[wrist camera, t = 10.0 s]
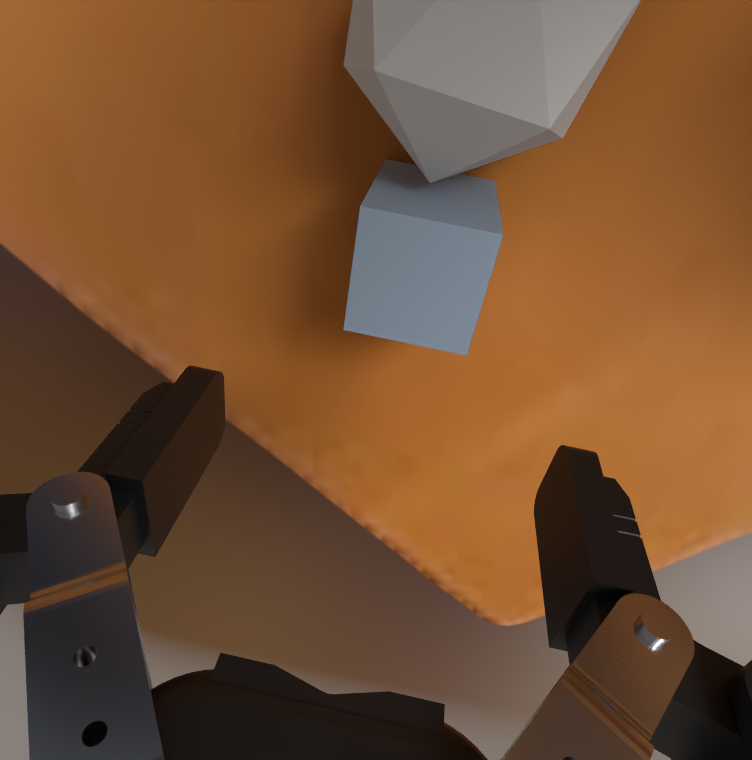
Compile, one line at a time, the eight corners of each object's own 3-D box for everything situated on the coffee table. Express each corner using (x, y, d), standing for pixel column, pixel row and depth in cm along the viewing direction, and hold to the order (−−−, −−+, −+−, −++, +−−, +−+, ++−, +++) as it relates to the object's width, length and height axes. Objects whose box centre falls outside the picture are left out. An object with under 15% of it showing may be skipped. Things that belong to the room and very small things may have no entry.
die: (519, 200, 24) (630, -75, 19) (566, 245, 16) (773, -204, 11) (336, 141, 23) (407, -156, 19) (291, 156, 15) (394, -350, 11)
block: (385, 159, 24) (360, 205, 18) (495, 180, 24) (503, 234, 18) (369, 261, 27) (343, 330, 21) (467, 281, 27) (466, 355, 21)
